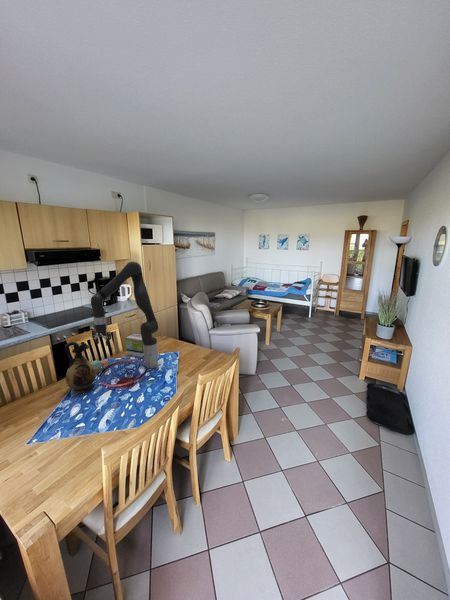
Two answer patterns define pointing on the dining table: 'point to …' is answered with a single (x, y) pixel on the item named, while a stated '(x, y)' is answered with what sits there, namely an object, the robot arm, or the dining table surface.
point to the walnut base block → (98, 370)
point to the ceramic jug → (79, 369)
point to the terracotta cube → (104, 363)
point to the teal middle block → (96, 364)
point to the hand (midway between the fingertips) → (102, 344)
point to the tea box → (134, 345)
